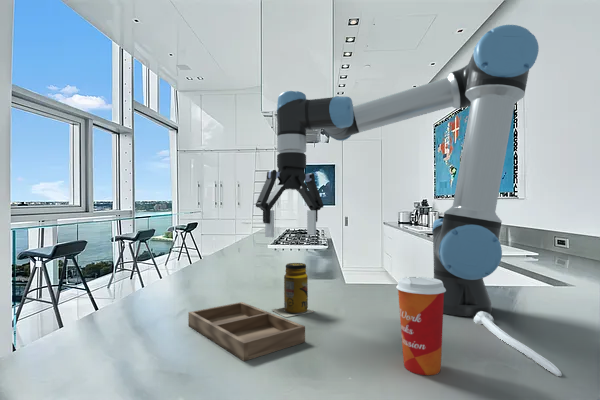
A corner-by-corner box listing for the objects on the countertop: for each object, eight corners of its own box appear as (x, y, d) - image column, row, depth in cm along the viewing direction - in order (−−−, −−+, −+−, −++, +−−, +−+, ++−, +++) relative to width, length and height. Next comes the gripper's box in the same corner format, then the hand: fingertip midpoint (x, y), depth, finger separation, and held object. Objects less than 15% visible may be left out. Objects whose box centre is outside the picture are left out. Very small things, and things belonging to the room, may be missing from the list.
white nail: (581, 380, 53) (580, 361, 53) (553, 379, 53) (552, 360, 53) (489, 322, 81) (488, 309, 81) (471, 321, 81) (470, 309, 81)
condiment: (314, 312, 89) (314, 264, 89) (286, 317, 84) (285, 267, 84) (298, 305, 95) (298, 261, 95) (271, 310, 90) (271, 263, 91)
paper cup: (390, 358, 60) (389, 276, 61) (433, 356, 61) (432, 275, 61) (408, 380, 52) (406, 286, 53) (457, 377, 53) (455, 284, 54)
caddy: (305, 341, 68) (305, 326, 68) (243, 361, 60) (243, 343, 60) (241, 314, 87) (241, 302, 87) (188, 325, 79) (188, 312, 79)
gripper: (317, 159, 102) (317, 233, 101) (241, 150, 86) (241, 237, 85) (336, 156, 96) (336, 234, 95) (258, 145, 80) (258, 239, 79)
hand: (291, 235), depth 90 cm, fingers open, 13 cm apart
